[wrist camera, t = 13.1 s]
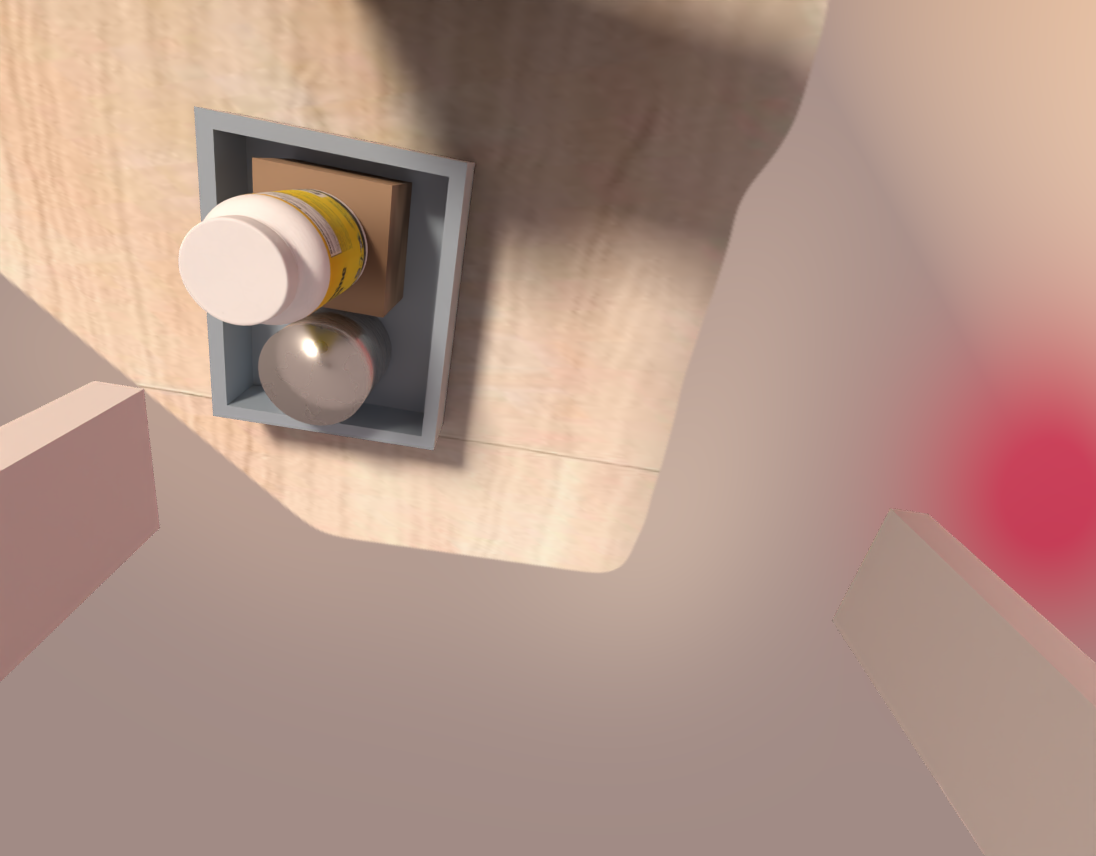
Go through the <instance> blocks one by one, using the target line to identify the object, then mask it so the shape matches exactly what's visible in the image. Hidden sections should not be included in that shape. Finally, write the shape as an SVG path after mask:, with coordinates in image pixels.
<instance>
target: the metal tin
mask: <svg viewBox="0 0 1096 856" xmlns="http://www.w3.org/2000/svg"><path fill="white" fill-rule="evenodd" d="M391 354H392V348H391V341H390V338H389V335H388V333H387V330H386V329H385V327H384V325H383V324H382V322H381V321H380V320H379V319H378V318H377V317H376V316H371V315H365V314H359V313H354V312H348V311H342V310H337V309H331V308H326V307H320V308H319V309H317V310H316V311H314V312H313V313H311V314H310V315H309V316H307V317H305V318H304V319H301V320H298V321H296V322H292V323H290V324H289V325H287V326H286V327H284V328H283V329H281V330H280V331H278V332H277V333H275V334H274V335H273V336H271V337H270V338H269V339H268V341H267V342H266V343H265V345H264V346H263V348H262V350H261V353H260V357H259V361H258V371H259V378H260V382H261V384H262V387H263V389H264V391H265V393H266V395H267V396H268V397H269V399H270V400H271V401H272V403H273V404H274V405H275V406H276V407H277V408H278V409H279V410H281V411H282V412H283V413H285V414H286V415H288V416H289V417H291V418H293V419H295V420H297V421H300V422H303V423H306V424H311V425H319V426H322V425H333V424H336V423H339V422H342V421H344V420H346V419H348V418H349V417H351V416H352V415H353V414H354V413H355V412H356V411H357V410H358V409H359V408H360V406H361V405H362V404H363V402H364V401H365V399H366V398H367V397H368V395H369V394H370V393H371V391H372V390H373V388H374V387H375V386H376V384H377V383H378V382H379V380H380V379H381V377H382V376H383V375H384V373H385V372H386V370H387V368H388V366H389V364H390V360H391Z"/></svg>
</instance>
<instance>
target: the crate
mask: <svg viewBox="0 0 1096 856" xmlns="http://www.w3.org/2000/svg"><path fill="white" fill-rule="evenodd" d="M194 112H195V129H196V145H197V161H198V177H199V194H200V210H201V222H202V221H204V219H205V217H206V216H207V214H208V213H209V212H210V211H211V210H212V209H213V208H214V207H216V206H217V205H218V204H220V203H221V202H223V201H225V200H227V199H229V198H232V197H236V196H240V195H245V194H253V177H252V158H290V159H297V160H302V161H307V162H312V163H317V164H322V165H327V166H332V167H337V168H342V169H347V170H352V171H357V172H362V173H367V174H372V175H377V176H382V177H387V178H392V179H397V180H402V181H407V182H412V193H411V205H410V217H409V229H408V242H407V254H406V266H405V278H404V290H403V298H402V299H401V300H400V301H399V302H398V303H397V304H396V305H395V306H394V307H393V308H392V309H391V310H390V311H389V312H388V313H387V314H386V315H385V316H384V317H383V318H382V317H377V318H378V319H379V320H380V321H381V322H382V324H383V325H384V327H385V329H386V330H387V333H388V335H389V338H390V341H391V348H392V354H391V360H390V364H389V366H388V368H387V370H386V372H385V373H384V375H383V376H382V377H381V379H380V380H379V382H378V383H377V384H376V386H375V387H374V388H373V390H372V391H371V393H370V394H369V395H368V397H367V398H366V399H365V401H364V402H363V404H362V405H361V406H360V408H359V409H358V410H357V411H356V412H355V413H354V414H353V415H352V416H351V417H349V418H348V419H346V420H344V421H342V422H339V423H336V424H333V425H322V426H319V425H311V424H306V423H303V422H300V421H297V420H295V419H293V418H291V417H289V416H288V415H286V414H285V413H283V412H282V411H281V410H279V409H278V408H277V407H276V406H275V405H274V404H273V403H272V401H271V400H270V399H269V397H268V396H267V395H266V393H265V391H264V389H263V387H262V384H261V382H260V378H259V371H258V361H259V357H260V353H261V350H262V348H263V346H264V345H265V343H266V342H267V341H268V339H269V338H270V337H271V336H273V335H274V334H275V333H277V332H278V331H280V330H281V329H283V328H284V327H286V326H287V325H289V324H290V323H289V324H283V325H266V324H257V325H251V326H241V325H234V324H230V323H226V322H223V321H221V320H219V319H217V318H215V317H213V316H212V315H210V314H209V313H207V323H208V339H209V356H210V372H211V388H212V404H213V416H218V417H224V418H231V419H237V420H243V421H250V422H256V423H263V424H269V425H275V426H282V427H288V428H294V429H301V430H307V431H314V432H320V433H326V434H333V435H339V436H345V437H352V438H358V439H365V440H371V441H377V442H384V443H390V444H396V445H403V446H409V447H416V448H422V449H428V450H434V448H435V445H436V442H437V439H438V436H439V434H440V431H441V428H442V425H443V422H444V414H445V406H446V397H447V389H448V381H449V373H450V365H451V357H452V349H453V341H454V332H455V324H456V316H457V308H458V300H459V292H460V284H461V276H462V268H463V259H464V251H465V243H466V235H467V227H468V219H469V211H470V203H471V194H472V186H473V178H474V170H475V163H473V162H469V161H464V160H459V159H454V158H449V157H444V156H440V155H435V154H430V153H425V152H420V151H415V150H410V149H406V148H401V147H396V146H391V145H386V144H381V143H376V142H372V141H367V140H362V139H357V138H352V137H347V136H343V135H338V134H333V133H328V132H323V131H318V130H313V129H309V128H304V127H299V126H294V125H289V124H284V123H280V122H275V121H270V120H265V119H260V118H255V117H250V116H246V115H241V114H236V113H230V112H224V111H218V110H212V109H206V108H200V107H194Z"/></svg>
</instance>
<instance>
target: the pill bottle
mask: <svg viewBox="0 0 1096 856" xmlns="http://www.w3.org/2000/svg"><path fill="white" fill-rule="evenodd" d="M367 253H368V246H367V240H366V236H365V233H364V230H363V227H362V225H361V223H360V221H359V220H358V218H357V216H356V215H355V214H354V212H353V211H352V210H351V209H350V208H349V207H348V206H347V205H346V204H345V203H344V202H342V201H341V200H340V199H338V198H336V197H335V196H333V195H331V194H329V193H326V192H323V191H320V190H314V189H292V190H281V191H272V192H262V193H253V194H245V195H240V196H236V197H232V198H229V199H227V200H225V201H223V202H221V203H220V204H218V205H217V206H216V207H214V208H213V209H212V210H211V211H210V212H209V213H208V214H207V216H206V217H205V219H204V221H202V222H200V223H199V224H197V225H195V226H194V227H193V228H192V229H191V230H190V231H189V232H188V233H187V234H186V236H185V238H184V239H183V241H182V244H181V247H180V251H179V270H180V274H181V278H182V281H183V283H184V285H185V287H186V289H187V291H188V293H189V294H190V296H191V297H192V298H193V299H194V301H195V302H196V303H197V304H198V305H199V306H200V307H201V308H202V309H203V310H205V311H206V312H207V313H209V314H210V315H212V316H213V317H215V318H217V319H219V320H221V321H223V322H226V323H230V324H234V325H241V326H251V325H257V324H266V325H283V324H289V323H292V322H296V321H298V320H301V319H304V318H305V317H307V316H309V315H310V314H311V313H313V312H314V311H316V310H317V309H319V308H320V307H322V306H323V305H325V304H326V303H327V302H329V301H330V300H332V299H333V298H335V297H336V296H338V295H339V294H341V293H343V292H344V291H346V290H347V289H348V288H350V287H351V286H352V285H353V284H354V283H355V282H356V281H357V280H358V279H359V277H360V276H361V274H362V272H363V270H364V268H365V265H366V261H367Z"/></svg>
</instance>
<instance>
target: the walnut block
mask: <svg viewBox="0 0 1096 856" xmlns="http://www.w3.org/2000/svg"><path fill="white" fill-rule="evenodd" d="M252 177H253V193H262V192H272V191H281V190H292V189H314V190H320V191H323V192H326V193H329V194H331V195H333V196H335V197H336V198H338V199H340V200H341V201H342V202H344V203H345V204H346V205H347V206H348V207H349V208H350V209H351V210H352V211H353V212H354V214H355V215H356V216H357V218H358V220H359V221H360V223H361V225H362V227H363V230H364V233H365V236H366V240H367V246H368V253H367V261H366V265H365V268H364V270H363V272H362V274H361V276H360V277H359V279H358V280H357V281H356V282H355V283H354V284H353V285H352V286H351V287H350V288H348V289H347V290H346V291H344V292H343V293H341V294H339V295H338V296H336V297H335V298H333V299H332V300H330V301H329V302H327V303H326V304H325V305H323V306H322V307H326V308H331V309H337V310H342V311H348V312H354V313H359V314H365V315H371V316H376V317H382V318H383V317H384V316H385V315H386V314H387V313H388V312H389V311H390V310H391V309H392V308H393V307H394V306H395V305H396V304H397V303H398V302H399V301H400V300H401V299H402V298H403V290H404V278H405V266H406V254H407V242H408V229H409V217H410V205H411V193H412V182H407V181H402V180H397V179H392V178H387V177H382V176H377V175H372V174H367V173H362V172H357V171H352V170H347V169H342V168H337V167H332V166H327V165H322V164H317V163H312V162H307V161H302V160H297V159H290V158H252Z"/></svg>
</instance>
